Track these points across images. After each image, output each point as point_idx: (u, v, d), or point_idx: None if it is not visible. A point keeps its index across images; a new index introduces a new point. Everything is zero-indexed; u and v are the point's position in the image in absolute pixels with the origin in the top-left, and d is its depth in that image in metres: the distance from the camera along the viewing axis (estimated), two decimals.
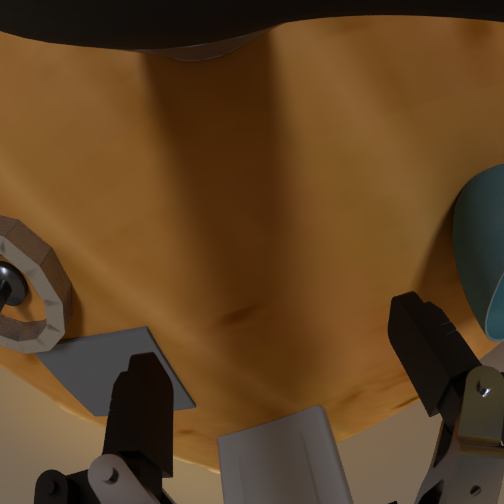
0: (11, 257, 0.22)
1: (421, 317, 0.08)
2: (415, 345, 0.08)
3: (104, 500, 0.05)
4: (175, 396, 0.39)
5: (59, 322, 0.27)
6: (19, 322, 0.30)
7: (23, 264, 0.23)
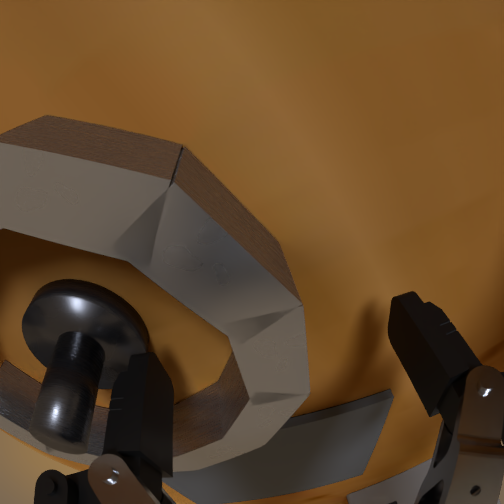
0: (181, 272, 0.07)
1: (421, 317, 0.08)
2: (415, 345, 0.08)
3: (104, 500, 0.05)
4: (350, 469, 0.23)
5: (266, 430, 0.11)
6: (102, 410, 0.14)
7: (229, 299, 0.07)
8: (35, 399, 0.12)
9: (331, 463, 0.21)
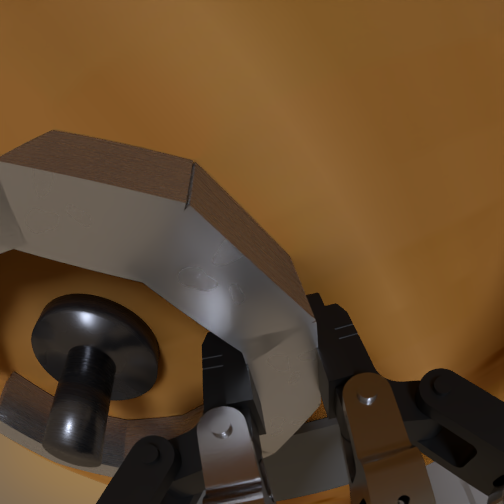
0: (196, 293, 0.07)
1: (316, 318, 0.09)
2: None
3: (205, 452, 0.06)
4: None
5: (277, 439, 0.11)
6: (111, 420, 0.14)
7: (244, 317, 0.07)
8: (44, 410, 0.12)
9: (338, 467, 0.21)
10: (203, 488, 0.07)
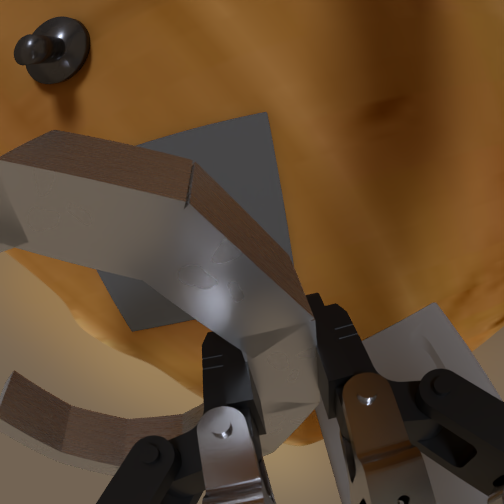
0: (196, 290, 0.07)
1: (316, 318, 0.09)
2: None
3: (205, 452, 0.06)
4: None
5: (276, 437, 0.11)
6: (111, 419, 0.14)
7: (243, 315, 0.08)
8: (45, 409, 0.12)
9: None
10: (203, 488, 0.07)
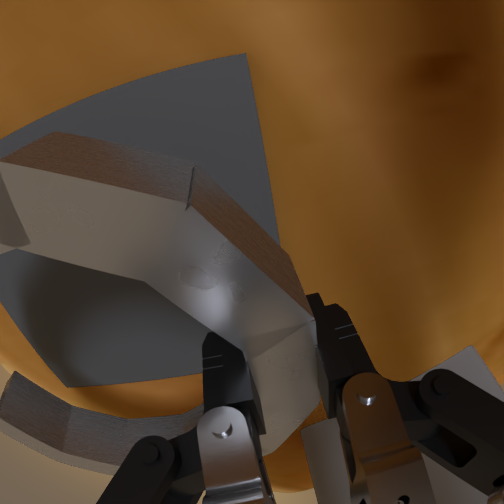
0: (197, 291, 0.07)
1: (316, 318, 0.09)
2: None
3: (205, 452, 0.06)
4: None
5: (277, 437, 0.11)
6: (112, 419, 0.14)
7: (244, 316, 0.08)
8: (46, 409, 0.12)
9: None
10: (203, 488, 0.07)
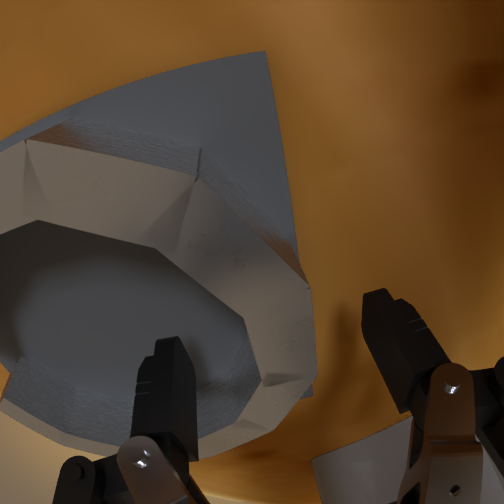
0: (203, 258, 0.08)
1: (390, 313, 0.09)
2: (384, 341, 0.09)
3: (130, 482, 0.06)
4: None
5: (276, 413, 0.12)
6: (116, 401, 0.15)
7: (245, 282, 0.08)
8: (51, 391, 0.13)
9: (217, 319, 0.13)
10: None
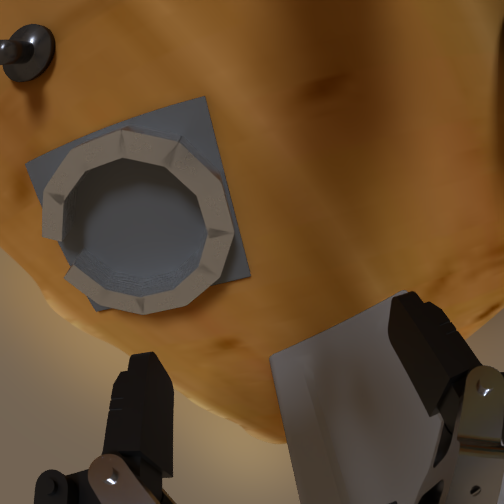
0: (181, 170, 0.22)
1: (421, 317, 0.08)
2: (415, 345, 0.08)
3: (104, 500, 0.05)
4: None
5: (219, 260, 0.26)
6: (135, 277, 0.30)
7: (196, 179, 0.23)
8: (99, 268, 0.28)
9: (191, 214, 0.27)
10: None
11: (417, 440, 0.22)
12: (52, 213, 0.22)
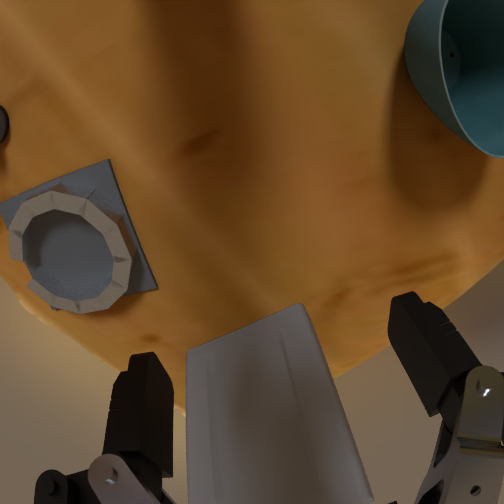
0: (90, 217, 0.30)
1: (421, 317, 0.08)
2: (415, 345, 0.08)
3: (104, 500, 0.05)
4: (134, 266, 0.37)
5: (124, 278, 0.35)
6: (76, 286, 0.38)
7: (101, 223, 0.31)
8: (50, 279, 0.36)
9: None
10: None
11: (278, 432, 0.31)
12: (15, 243, 0.30)
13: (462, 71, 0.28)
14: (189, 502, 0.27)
